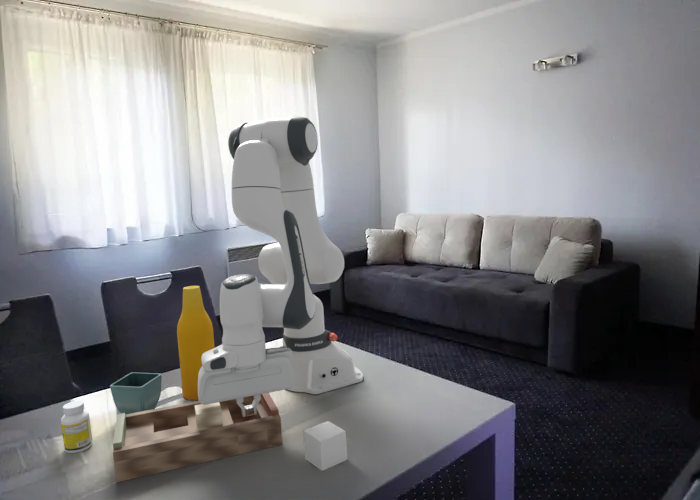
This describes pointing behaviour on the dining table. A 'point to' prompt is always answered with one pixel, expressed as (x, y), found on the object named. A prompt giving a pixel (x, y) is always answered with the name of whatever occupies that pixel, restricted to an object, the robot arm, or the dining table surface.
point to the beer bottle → (193, 339)
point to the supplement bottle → (76, 427)
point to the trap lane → (190, 436)
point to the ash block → (208, 416)
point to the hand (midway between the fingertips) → (249, 414)
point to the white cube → (325, 445)
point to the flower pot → (137, 392)
